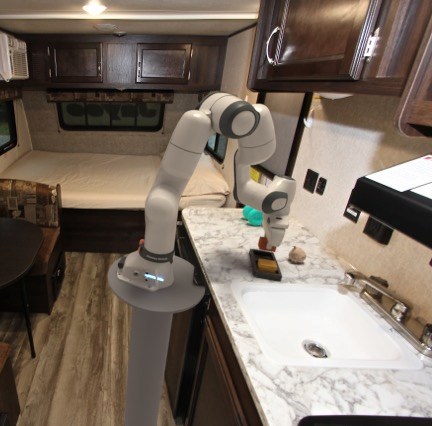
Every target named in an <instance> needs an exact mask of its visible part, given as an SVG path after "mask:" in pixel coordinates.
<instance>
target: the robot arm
mask: <svg viewBox="0 0 432 426" xmlns="http://www.w3.org/2000/svg"><path fill="white" fill-rule="evenodd" d="M272 117H273V116H272V114H271V111H270V109H269V108H268V107H267V106H266V105H265V104H263V103H253V104H251V103H250V102H248V101H246V100H243V99H241V98H239V96H236V95H234V94H231V93H226V92H224V91H212V92H210V93H208V94H206V95H205V96H204V97H202V98H201V100H200V102H199V104H198V105H196V107H195V108H194V109H192V110H188V111H185V112H184V113H183V114H182V115H181V117H180V119H179V120H178V122H177V124H176V126H175V127H174V129H173V132H172V134H171V136H170V139H169V141H168V143H167V146H166V149H165V151H164V154H163V156H162V159H161V161H160V164H159V167H158V170H157V173H156V176H155V177H154V181H153V184H152V187H151V188H150V189H149V192H148V194H147V196H146V198H145V201H144V222H145V223H144V225H145V230H144V238H141V239H140V240H139V245H138V249H137V250H135V251H133V252H130V253H128V254H129V255H128V256H127V258H126V256H125V255H121V256H120V258H121V260H120V261H119V263H118V267H119V268H118V271H117V279H118V280H119V281H122V282H125V283H128V284H130V285H133V286H136V287H139V288H142V289H145V290H147V291H150V292H155V291H157V290H158V289H162V288H166V287H168V286H170V285H171V284H172V283H173V282H174V276H173V268H172V263H173V261H174V255H175V253H176V251H175V249H176V248H175V242H176V234H177V222H178V221H177V220H178V214H179V207H180V203H181V200H182V197H183V194H184V192H185V190H186V188H187V186H188V184H189V182H190V180H191V178H192V177H193V174H194V172H195V171H196V168H197V167H198V163H199V162H200V160H201V157H202V154H203V153H204V150H205V149H206V146H207V143H208V141H209V139H210V138H212V136H213V135H214V134H215V133H217V134H220V135H222V136H223V137H225V138H228V139H231V140H237V147H238V148H237V149H236V150H235V152H234V155H233V189H232V197H233V199H234V201H235V202H236V203H238V204H241V205H244V206H246V205H247V206H249V207H251V208H253V209H255V210H258V211H260V212H262V213H263V216H262V217H263V221H262V224H261V226H262V228H263V229H262V230H263V232H264V234H263V235H264V236H263V237H267V240H268V243H267V244H266V248H267V249H271V248H272V246H275V247H276V248H279V247H280V246H281V245H282V243H283V240H284V238H285V235H286V230H288V229H289V227H290V222H289V218H290V213H291V205H292V203H293V202H294V199H295V195H296V192H297V191H296V190H297V180H296V179H295V178H293V177H291V176H288V175H283V174H275V175H274V177H273V179H272V181H271V182H270V183H269V184H266V185H265V184H262V183H259V182H256V181H255V180H254V179H253V178H252V177H251V166H255V165H259V164H261V163H264V162H266V161H267V160H269V159H270V158H271V157H272V156H273V155H274V153H275V151H276V148H277V140H276V139H277V138H276V130H275V125H274V120H273V118H272Z"/></svg>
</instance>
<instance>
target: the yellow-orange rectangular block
mask: <svg viewBox="0 0 432 426" xmlns="http://www.w3.org/2000/svg"><path fill="white" fill-rule="evenodd" d="M257 269H258V271H263V272H269V273H276V270H277V265H276V263H275V261H271V260H265V259H259V260H258V264H257Z"/></svg>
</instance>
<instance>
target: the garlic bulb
mask: <svg viewBox="0 0 432 426" xmlns="http://www.w3.org/2000/svg"><path fill="white" fill-rule="evenodd" d="M288 258H289V260H290V261H291V262H293V263H303V262H304V261H305V260H306V259H307V253H306V252H305V250H304V249H302V248H300V247H298V246H296V245H293V246H292V248H291V250H290V251H289V253H288Z"/></svg>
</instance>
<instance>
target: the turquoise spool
mask: <svg viewBox="0 0 432 426" xmlns="http://www.w3.org/2000/svg"><path fill="white" fill-rule="evenodd" d="M242 216H243V218H244V219H246V220H247V221H248V223H249V224H250V225H252V226H255V227H256V226H262V221H263V217H262V216H263V213H262V212H260V211H258V210H255V209H253V208H251V207H249V206H247V205H244V207H243V208H242Z"/></svg>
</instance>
